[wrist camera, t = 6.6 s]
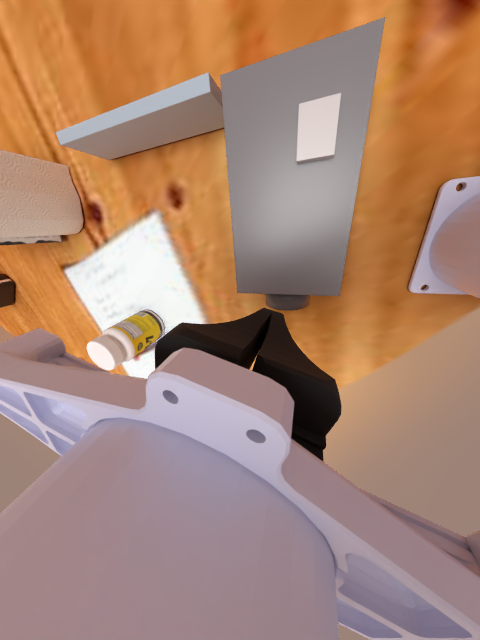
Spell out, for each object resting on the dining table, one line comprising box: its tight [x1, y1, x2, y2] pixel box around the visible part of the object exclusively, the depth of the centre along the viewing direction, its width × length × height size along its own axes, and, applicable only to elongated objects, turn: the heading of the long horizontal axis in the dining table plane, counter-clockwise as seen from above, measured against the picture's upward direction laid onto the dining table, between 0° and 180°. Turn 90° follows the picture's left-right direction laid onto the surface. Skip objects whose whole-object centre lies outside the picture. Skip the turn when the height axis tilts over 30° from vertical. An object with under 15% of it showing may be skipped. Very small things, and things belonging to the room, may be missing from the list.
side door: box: [56, 73, 224, 160], centre depth 15 cm, size 2×14×4 cm, turn 95°
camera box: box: [220, 17, 385, 310], centre depth 15 cm, size 8×15×6 cm, turn 3°
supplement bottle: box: [87, 310, 164, 370], centre depth 25 cm, size 5×5×8 cm
